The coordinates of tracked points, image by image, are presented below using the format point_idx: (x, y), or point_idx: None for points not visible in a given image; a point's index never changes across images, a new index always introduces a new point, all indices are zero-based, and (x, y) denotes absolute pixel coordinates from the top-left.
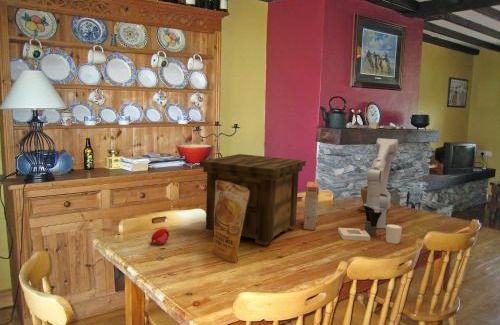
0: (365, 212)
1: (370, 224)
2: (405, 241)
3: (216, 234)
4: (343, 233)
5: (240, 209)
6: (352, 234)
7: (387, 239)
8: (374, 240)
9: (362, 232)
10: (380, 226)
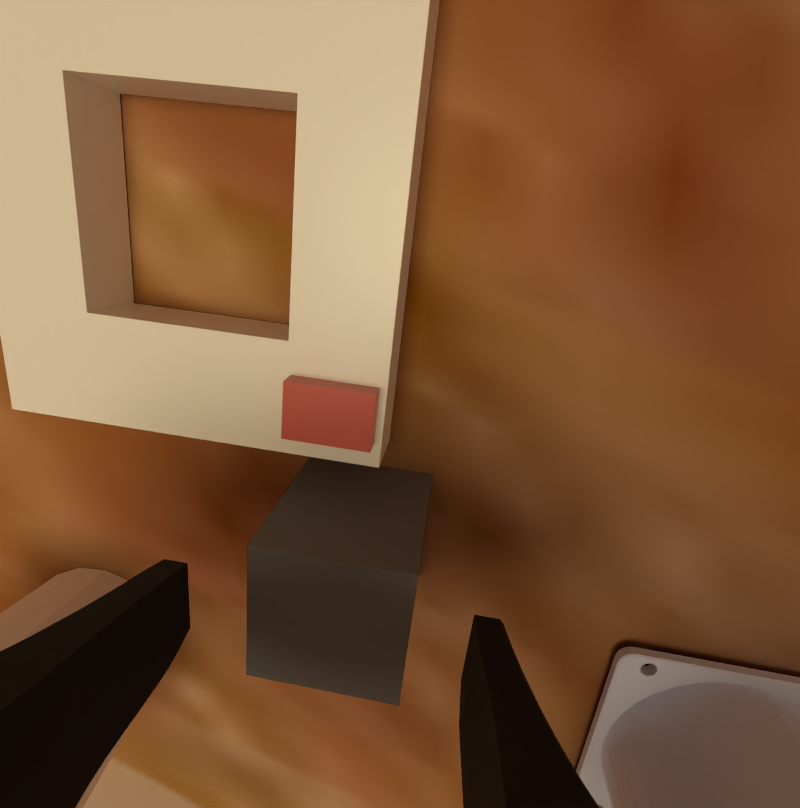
0: (555, 788)
1: (256, 587)
2: (138, 737)
3: None
4: None
5: None
6: (28, 131)
7: (46, 587)
8: (96, 452)
9: (180, 364)
10: (605, 756)
